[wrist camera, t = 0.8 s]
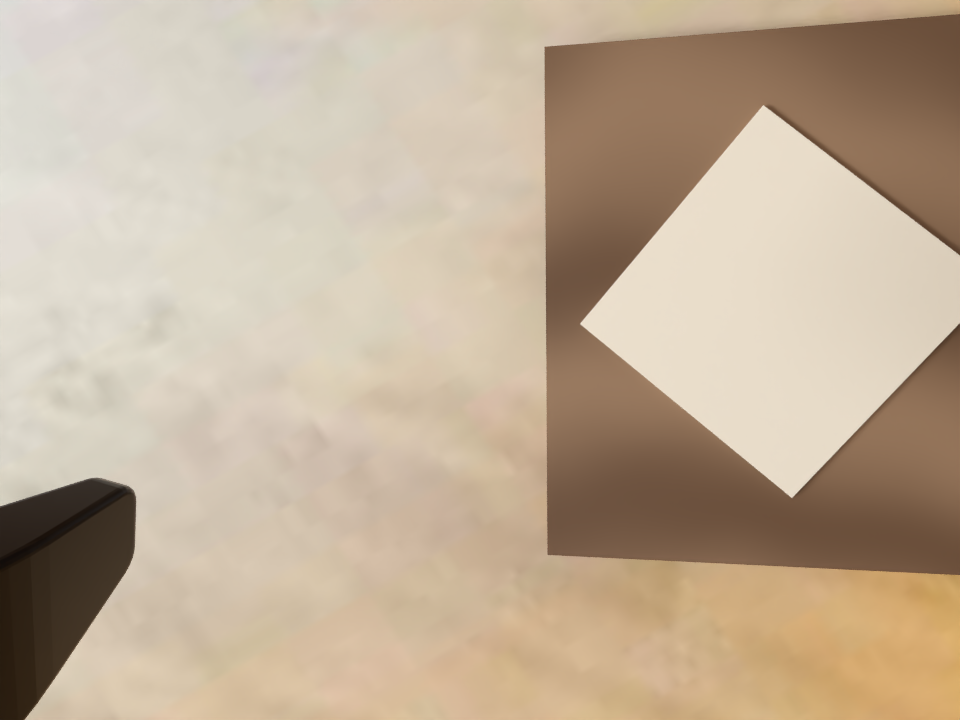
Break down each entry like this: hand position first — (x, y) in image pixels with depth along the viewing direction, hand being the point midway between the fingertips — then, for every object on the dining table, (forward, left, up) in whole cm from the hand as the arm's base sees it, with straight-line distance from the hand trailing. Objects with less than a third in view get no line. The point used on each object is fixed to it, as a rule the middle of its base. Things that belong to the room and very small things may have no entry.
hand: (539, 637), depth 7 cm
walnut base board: (+3, -5, -14) cm, 15 cm away
